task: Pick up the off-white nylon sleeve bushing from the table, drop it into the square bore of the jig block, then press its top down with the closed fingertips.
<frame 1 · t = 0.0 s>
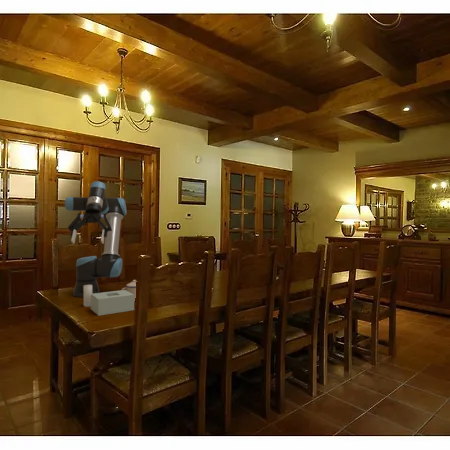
hand: (87, 242, 163), 36 cm above the table, tool tilted 35°, fingers open, 13 cm apart
teacup with lid: (131, 300, 197), on the table
bushing: (87, 305, 184), on the table
jig: (112, 309, 177), on the table
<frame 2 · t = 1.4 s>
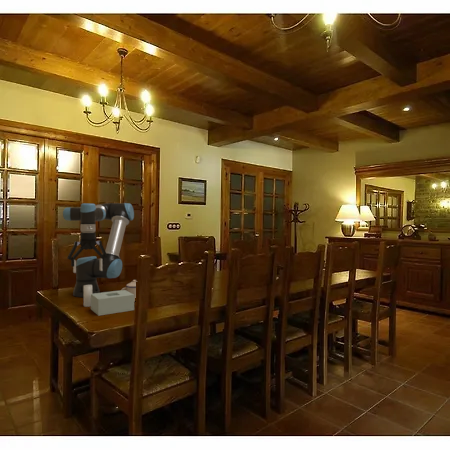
hand: (88, 271, 183), 19 cm above the table, tool pointing down, fingers open, 13 cm apart
nothing on the table moved.
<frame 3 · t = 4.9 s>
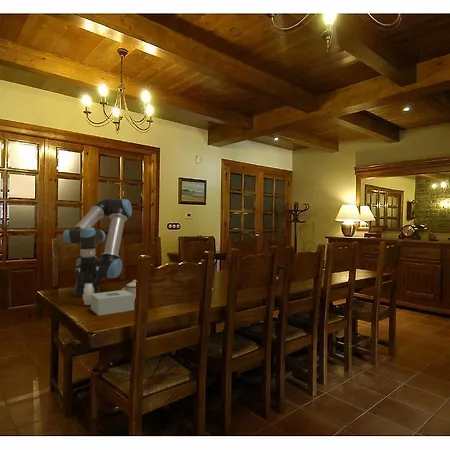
hand: (88, 299, 184), 3 cm above the table, tool pointing down, fingers closed on bushing, 4 cm apart
bushing: (88, 303, 184), point 1 cm above the table, touching gripper
everything else where it was.
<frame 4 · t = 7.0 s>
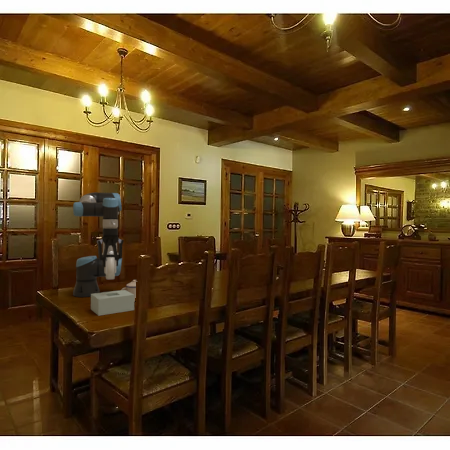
hand: (110, 272, 176), 19 cm above the table, tool pointing down, fingers closed on bushing, 4 cm apart
bushing: (110, 278, 176), point 16 cm above the table, touching gripper
everything else where it was.
when the fingers open (10 cm above the table, at t = 9.4 s): bushing drops 7 cm, resting in jig.
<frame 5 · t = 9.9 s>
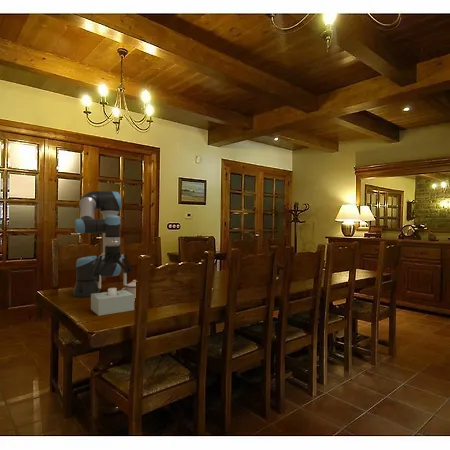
hand: (112, 286, 176), 12 cm above the table, tool pointing down, fingers open, 12 cm apart
bushing: (112, 309, 177), resting in jig
everything else where it was.
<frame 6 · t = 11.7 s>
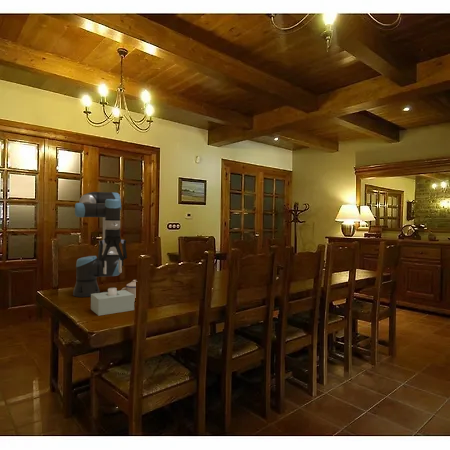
hand: (112, 273, 176), 19 cm above the table, tool pointing down, fingers open, 7 cm apart
nothing on the table moved.
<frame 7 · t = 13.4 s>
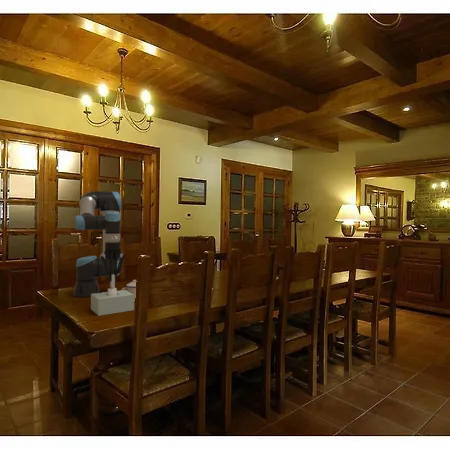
hand: (112, 287, 176), 12 cm above the table, tool pointing down, fingers closed
nothing on the table moved.
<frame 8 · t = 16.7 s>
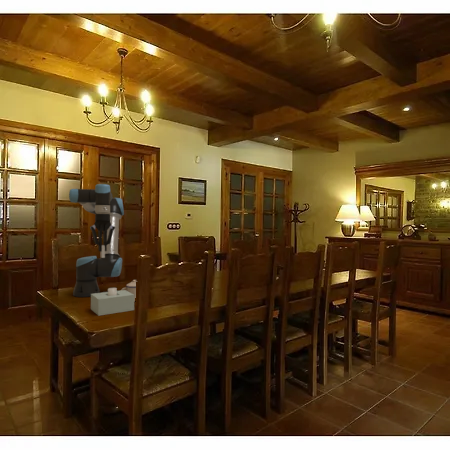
hand: (102, 257, 182), 26 cm above the table, tool pointing down, fingers closed
nothing on the table moved.
at the end: bushing 0.1 cm off-centre on the jig, point 0.0 cm above the jig's base; bushing tilted 0°; the gripper is holding nothing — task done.
